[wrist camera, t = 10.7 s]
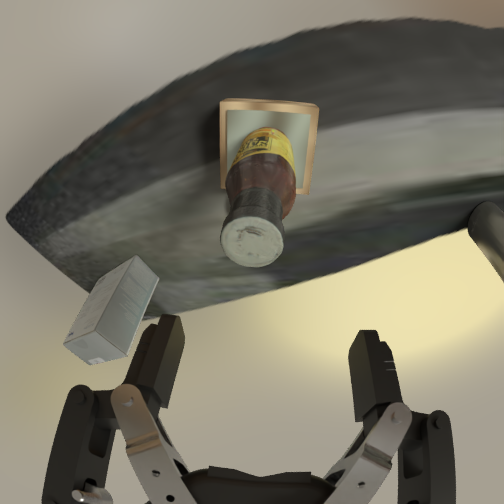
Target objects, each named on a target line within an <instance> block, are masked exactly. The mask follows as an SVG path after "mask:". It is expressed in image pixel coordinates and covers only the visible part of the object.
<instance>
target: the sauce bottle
mask: <svg viewBox="0 0 504 504" xmlns="http://www.w3.org/2000/svg"><path fill="white" fill-rule="evenodd" d="M225 187H226V191H227V194H228V197H229V201H230V204H231V211H230V214H229V215H228V216H227V217H226V219H225V221H224V223H223V227H222V231H221V236H220V243H221V246H222V248H223V251H224V252H225V254H226V255H227V256H228V257H229V258H230V259H231V260H232V261H234V262H236V263H238V264H240V265H243V266H247V267H262V266H265V265H268V264H270V263H272V262H273V261H274V260H275V259H276V258H277V257H278V256H279V255H280V254H281V252H282V250H283V246H284V233H285V232H284V226H283V223H282V219H284V217H285V216H287V215H288V213H289V212H290V210H291V208H292V206H293V204H294V201H295V197H296V174H295V166H294V156H293V149H292V145H291V143H290V141H289V139H288V138H287V136H286V135H285V134H284V133H283V132H282V131H280V130H279V129H276V128H271V127H262V128H259V129H257V130H254V131H253V132H251V133H250V134H249V135H247V136H246V138H245V139H244V140H243V142H242V144H241V146H240V148H239V150H238V152H237V155H236V157H235V159H234V160H233V163H232V165H231V167H230V169H229V171H228V174H227V176H226V180H225Z"/></svg>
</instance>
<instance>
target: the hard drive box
mask: <svg viewBox="0 0 504 504" xmlns="http://www.w3.org/2000/svg"><path fill="white" fill-rule="evenodd" d="M158 280H159V277H158V276H157V275H156V274H155V273H154V272H153V271H152V270H151V269H150V268H149V267H148V266H147V265H146V264H145V263H144V262H143V261H142V260H141V259H140V258H139V257H138V256H137V255H135V256H134V257H132V258H131V259H129V260H127V261H126V262H124V263H123V264H121V265H119V266H118V267H116V268H115V269H113V270H112V271H110V272H108V273H107V274H105V275H104V276H102V277H101V278H99V280H98V281H97V283H96V284H95V286H94V288H93V289H92V291H91V293H90V295H89V296H88V298H87V300H86V302H85V303H84V305H83V307H82V309H81V311H80V312H79V314H78V316H77V318H76V320H75V322H74V324H73V325H72V327H71V329H70V331H69V333H68V335H67V337H66V339H65V341H64V343H63V345H64V346H65V347H66V348H68V349H69V350H70V351H71V352H72V353H74V354H75V355H77V356H78V357H79V358H80V359H82V360H83V361H84V362H86V363H87V364H89V365H93V364H98V363H102V362H106V361H110V360H115V359H119V358H122V357H126V356H128V354H129V351H130V348H131V346H132V343H133V340H134V338H135V335H136V333H137V330H138V328H139V325H140V323H141V320H142V318H143V315H144V313H145V311H146V308H147V306H148V303H149V301H150V299H151V296H152V294H153V292H154V289H155V287H156V285H157V283H158Z"/></svg>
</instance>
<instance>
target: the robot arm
mask: <svg viewBox="0 0 504 504" xmlns="http://www.w3.org/2000/svg"><path fill="white" fill-rule="evenodd" d="M468 233H469V236H470V237H471V238H472V239H473V241H474V242H475V243H476V244H477V246H478V247H479V248H480V250H481V251H482V252H483V254H484V255H485V256H486V258H487V259H488V260H489V262H490V263H491V264H492V266H493V267H494V269H495V270H496V272H497V273H498V274H499V276H500V277H501V279H502V280H503V282H504V212H503V211H502V210H500V209H499V208H498V207H497V206H496V205H495V204H494V203H493V202H490V201H486V202H483V203H481V204H480V205H478V206H477V207H476V208H475V210H474V211H473V213H472V214H471V216H470V218H469V222H468ZM184 344H185V335H184V331H183V327H182V323H181V319H180V317H179V316H176V315H169V314H162V315H161V317H160V320H159V322H158V325H156V324H150V325H149V326H148V327H147V328H146V329H145V330H144V332H143V334H142V336H141V339H140V341H139V344H138V346H137V349H136V352H135V354H134V356H133V359H132V362H131V364H130V367H129V370H128V372H127V375H126V378H125V380H124V382H123V383H122V384H121V385H120V386H118V387H116V388H115V389H113V390H101V391H92V390H91V389H90V388H89V387H87V386H85V385H77V386H75V387H73V388H72V389H71V390H70V392H69V393H68V396H67V399H66V402H65V405H64V408H63V411H62V414H61V417H60V421H59V424H58V427H57V431H56V434H55V438H54V442H53V446H52V450H51V454H50V458H49V463H48V467H47V472H46V477H45V482H44V488H43V494H42V504H113V499H112V497H111V495H110V493H109V492H108V491H107V490H105V489H104V487H105V481H106V476H107V471H108V465H109V460H110V455H111V450H112V446H113V441H114V437H115V432H116V429H121V431H122V434H123V436H124V439H125V441H126V445H127V446H126V453H127V456H128V458H129V460H130V462H131V465H132V467H133V469H134V471H135V473H136V475H137V477H138V479H139V481H140V483H141V485H142V487H143V489H144V491H145V492H146V494H147V496H148V498H149V501H148V502H147V503H145V504H368V503H369V502H370V500H371V499H372V497H373V496H374V495H375V493H376V492H377V490H378V489H379V487H380V486H381V484H382V483H383V481H384V480H385V478H386V477H387V475H388V473H389V472H390V470H391V468H392V463H391V460H392V458H393V456H394V454H395V452H396V451H397V449H398V504H456V476H455V458H454V447H453V438H452V430H451V423H450V418H449V416H448V415H447V414H446V413H445V412H444V411H441V410H436V411H434V412H432V413H431V414H424V413H418V412H414V411H411V410H410V409H409V407H408V406H407V405H405V404H404V403H403V400H402V396H401V391H400V386H399V381H398V377H397V372H396V370H395V369H396V368H395V364H394V359H393V355H392V351H391V349H390V348H389V346H388V345H387V343H386V342H385V341H382V342H380V340H379V336H378V332H377V331H376V330H360V331H359V332H358V334H357V336H356V338H355V340H354V342H353V343H352V345H351V347H350V350H349V356H348V359H349V367H350V376H351V384H352V392H353V402H354V412H355V422H362V421H363V428H362V429H361V431H360V432H359V434H358V435H357V437H356V438H355V440H354V441H353V443H352V444H351V445H350V447H349V448H348V450H347V451H346V452H345V454H344V455H343V456H342V458H341V459H340V460H339V461H338V462H337V463H336V464H335V465H334V466H333V467H332V468H331V469H330V470H329V471H328V473H327V474H326V475H325V476H324V478H323V479H322V478H320V477H317V476H314V475H311V472H285V473H280V474H275V475H270V476H265V477H257V476H254V475H250V474H247V473H244V472H241V471H238V470H235V469H228V468H221V467H214V466H209V468H208V469H200V470H196V471H193V472H190V471H189V469H188V468H187V466H186V464H185V463H184V461H183V459H182V458H181V456H180V454H179V453H178V452H177V450H176V449H175V447H174V445H173V444H172V442H171V440H170V438H169V436H168V434H167V432H166V430H165V428H164V426H163V424H162V422H161V420H160V418H159V416H158V413H159V410H160V407H162V408H168V404H169V400H170V395H171V392H172V389H173V385H174V381H175V377H176V374H177V370H178V366H179V363H180V359H181V356H182V352H183V348H184ZM358 486H359V487H358Z"/></svg>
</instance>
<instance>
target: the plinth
mask: <svg viewBox="0 0 504 504" xmlns="http://www.w3.org/2000/svg"><path fill="white" fill-rule="evenodd" d="M318 114H319V108H318V107H317V106H316V105H314V104H310V103H301V102H291V101H279V100H263V99H225V100H223V101H221V102H220V179H221V189H226V187H225V180H226V176H227V174H228V171H229V169H230V167H231V165H232V163H233V160H234V159H235V157H236V155H237V152H238V150H239V148H240V146H241V144H242V142H243V140H244V139H245V138H246V136H247V135H249V134H250V133H251V132H253V131H254V130H257V129H259V128H262V127H271V128H276V129H279V130H280V131H282V132H283V133H284V134H285V135H286V136H287V138H288V139H289V141H290V143H291V145H292V149H293V156H294V166H295V174H296V194H307V195H309V190H310V182H311V175H312V167H313V159H314V151H315V142H316V134H317V124H318Z"/></svg>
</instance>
